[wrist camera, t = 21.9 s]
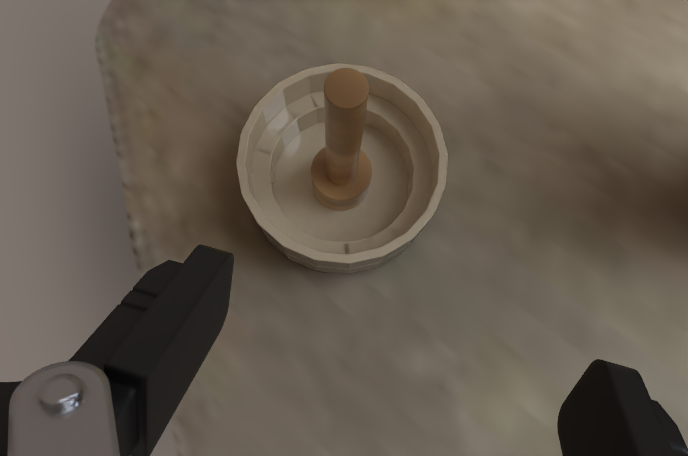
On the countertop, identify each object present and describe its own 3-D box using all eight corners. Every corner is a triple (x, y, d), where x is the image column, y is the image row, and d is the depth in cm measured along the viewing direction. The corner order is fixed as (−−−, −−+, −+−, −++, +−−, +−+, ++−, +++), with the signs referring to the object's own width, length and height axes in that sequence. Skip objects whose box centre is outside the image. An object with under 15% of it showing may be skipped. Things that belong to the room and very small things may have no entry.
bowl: (334, 71, 42) (334, 27, 36) (466, 179, 40) (489, 151, 34) (213, 191, 39) (192, 165, 33) (348, 313, 37) (352, 308, 32)
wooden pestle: (338, 146, 40) (342, 30, 25) (380, 181, 39) (410, 84, 24) (300, 185, 39) (282, 90, 24) (343, 222, 38) (350, 147, 24)
